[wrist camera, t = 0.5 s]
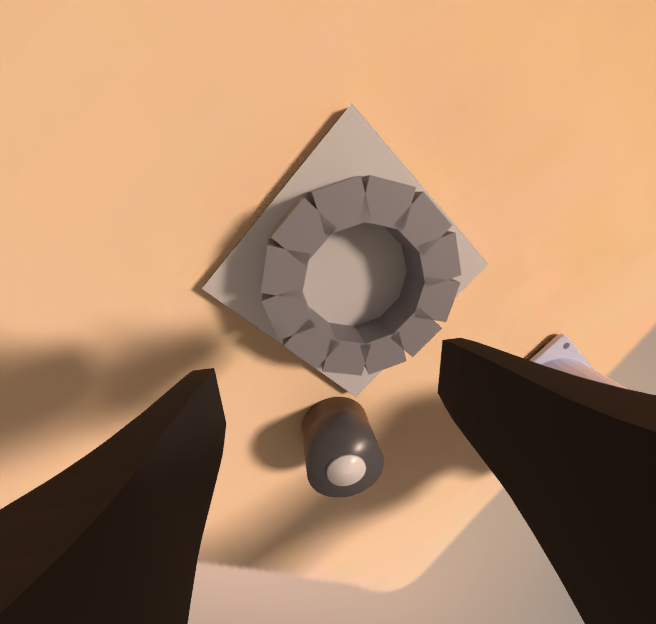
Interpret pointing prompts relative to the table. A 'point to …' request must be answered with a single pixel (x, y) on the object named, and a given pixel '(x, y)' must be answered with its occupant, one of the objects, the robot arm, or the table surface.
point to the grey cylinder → (340, 448)
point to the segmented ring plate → (349, 260)
